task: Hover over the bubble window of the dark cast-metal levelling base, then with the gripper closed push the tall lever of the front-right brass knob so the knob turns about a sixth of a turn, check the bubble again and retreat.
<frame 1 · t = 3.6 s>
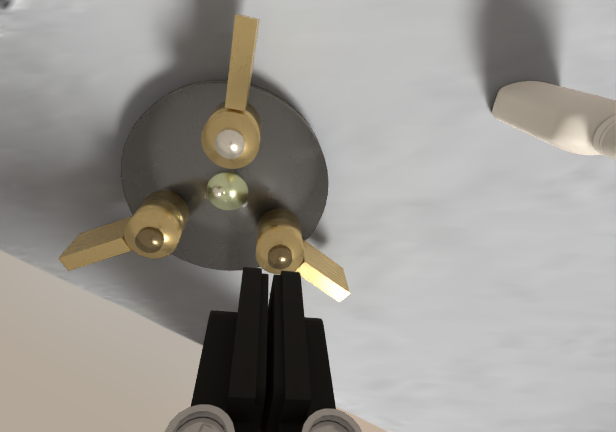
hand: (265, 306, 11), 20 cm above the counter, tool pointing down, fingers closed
levelling base: (230, 181, 30), on the counter
eye dropper bottle: (523, 102, 29), on the counter
knob c: (238, 94, 23), point 4 cm above the counter, hinge at 0.0°
knob b: (303, 259, 30), point 4 cm above the counter, hinge at 0.0°
knob a: (126, 235, 27), point 4 cm above the counter, hinge at 0.0°
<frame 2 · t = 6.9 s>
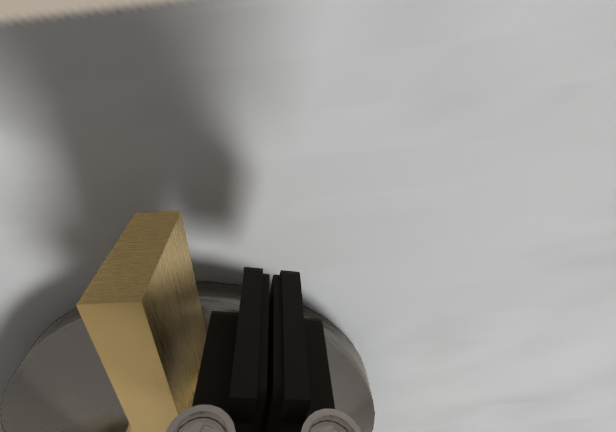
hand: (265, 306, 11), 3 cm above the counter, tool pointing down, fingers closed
levelling base: (206, 406, 18), on the counter
knob c: (172, 377, 10), point 4 cm above the counter, hinge at 8.9°, touching gripper
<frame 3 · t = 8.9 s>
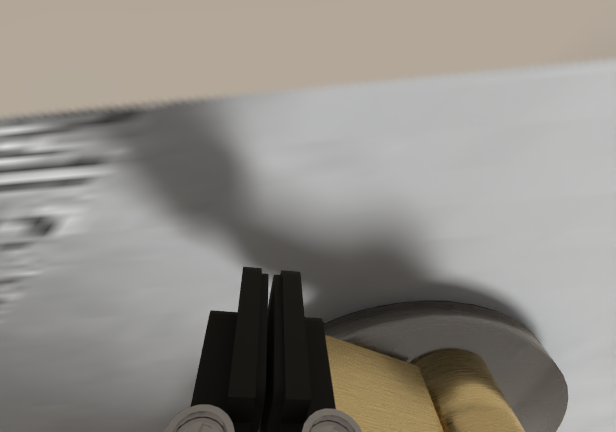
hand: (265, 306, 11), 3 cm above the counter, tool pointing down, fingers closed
levelling base: (394, 412, 19), on the counter
knob c: (412, 420, 12), point 4 cm above the counter, hinge at 70.9°, touching gripper
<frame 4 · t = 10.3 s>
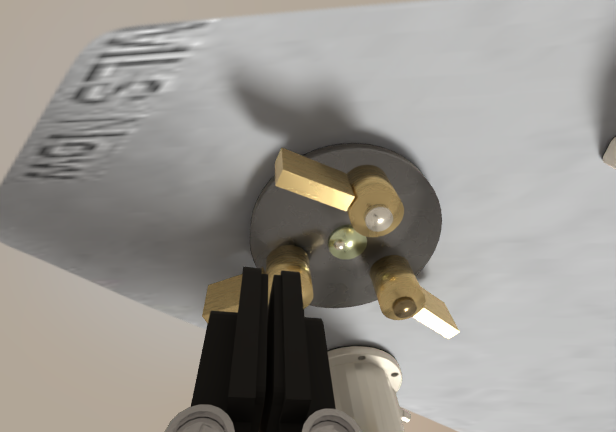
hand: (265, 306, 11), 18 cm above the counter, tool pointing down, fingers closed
levelling base: (343, 230, 32), on the counter
knob c: (338, 189, 25), point 4 cm above the counter, hinge at 75.7°
knob b: (416, 302, 32), point 4 cm above the counter, hinge at 0.0°
knob a: (258, 290, 29), point 4 cm above the counter, hinge at 0.0°
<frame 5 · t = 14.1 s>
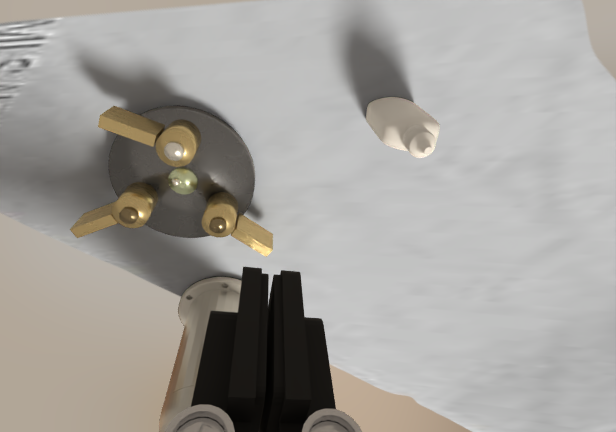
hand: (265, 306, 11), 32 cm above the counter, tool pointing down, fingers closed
levelling base: (186, 174, 43), on the counter
eye dropper bottle: (389, 111, 41), on the counter
knob c: (152, 133, 36), point 4 cm above the counter, hinge at 76.2°
knob b: (239, 227, 42), point 4 cm above the counter, hinge at 0.0°
knob a: (114, 213, 40), point 4 cm above the counter, hinge at 0.0°
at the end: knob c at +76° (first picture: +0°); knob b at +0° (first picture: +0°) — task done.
